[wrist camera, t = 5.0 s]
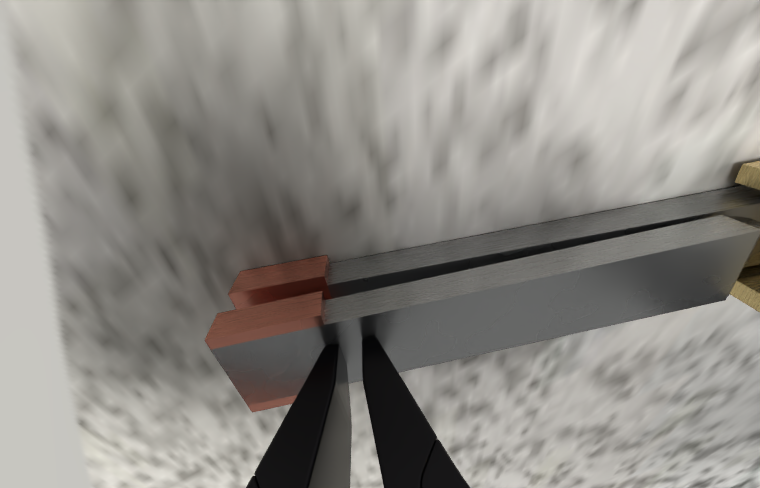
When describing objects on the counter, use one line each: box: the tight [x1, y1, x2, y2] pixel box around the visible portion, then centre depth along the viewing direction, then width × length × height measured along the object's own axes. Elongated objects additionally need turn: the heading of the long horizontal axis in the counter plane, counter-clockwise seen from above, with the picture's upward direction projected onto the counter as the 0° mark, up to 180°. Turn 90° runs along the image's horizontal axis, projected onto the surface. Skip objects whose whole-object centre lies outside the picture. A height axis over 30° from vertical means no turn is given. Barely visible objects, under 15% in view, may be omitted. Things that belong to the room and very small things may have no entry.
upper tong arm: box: [205, 215, 760, 412], centre depth 9 cm, size 16×3×1 cm, turn 100°
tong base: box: [228, 185, 760, 309], centre depth 11 cm, size 20×3×1 cm, turn 100°
